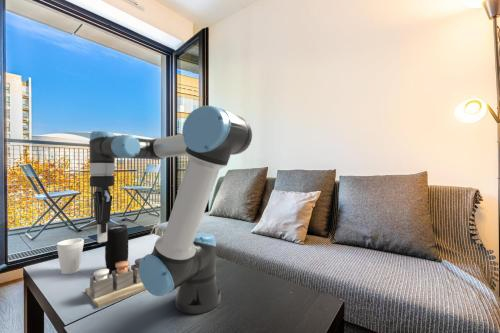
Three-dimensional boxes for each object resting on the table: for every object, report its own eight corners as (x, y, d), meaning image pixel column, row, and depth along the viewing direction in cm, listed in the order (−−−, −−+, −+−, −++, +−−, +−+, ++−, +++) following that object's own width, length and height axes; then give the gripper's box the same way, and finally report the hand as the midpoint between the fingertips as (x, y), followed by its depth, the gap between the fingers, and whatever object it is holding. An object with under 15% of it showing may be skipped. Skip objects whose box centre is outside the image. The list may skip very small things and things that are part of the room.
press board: (157, 285, 92) (157, 268, 92) (98, 308, 77) (98, 287, 77) (140, 273, 102) (140, 258, 102) (85, 292, 87) (85, 273, 87)
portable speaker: (123, 274, 101) (123, 228, 101) (100, 274, 101) (100, 229, 101) (131, 265, 110) (131, 223, 110) (110, 266, 109) (110, 224, 109)
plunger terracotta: (131, 281, 89) (131, 263, 89) (118, 285, 86) (118, 266, 86) (126, 277, 92) (126, 259, 92) (113, 281, 89) (113, 263, 89)
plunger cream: (110, 290, 84) (110, 271, 84) (95, 295, 81) (96, 275, 81) (106, 285, 87) (106, 267, 87) (91, 290, 84) (92, 271, 84)
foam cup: (57, 278, 97) (57, 246, 97) (56, 270, 104) (56, 241, 104) (84, 271, 104) (85, 241, 104) (82, 264, 111) (82, 237, 111)
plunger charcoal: (149, 276, 94) (149, 259, 95) (137, 280, 91) (137, 263, 91) (144, 273, 98) (144, 257, 98) (132, 277, 94) (132, 260, 94)
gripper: (120, 175, 83) (120, 242, 82) (107, 174, 91) (107, 235, 91) (95, 175, 77) (95, 248, 77) (84, 175, 86) (84, 240, 85)
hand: (102, 241), depth 84 cm, fingers closed
